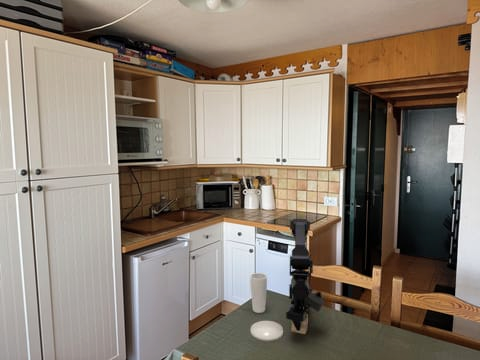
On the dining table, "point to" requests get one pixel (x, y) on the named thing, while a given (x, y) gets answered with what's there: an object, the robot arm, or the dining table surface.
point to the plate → (266, 330)
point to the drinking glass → (258, 291)
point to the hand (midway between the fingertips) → (299, 326)
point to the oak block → (303, 326)
